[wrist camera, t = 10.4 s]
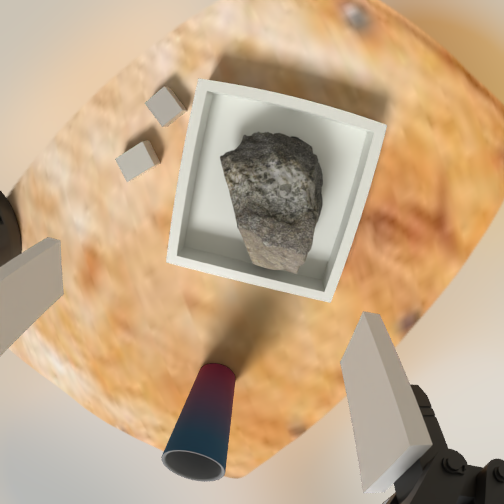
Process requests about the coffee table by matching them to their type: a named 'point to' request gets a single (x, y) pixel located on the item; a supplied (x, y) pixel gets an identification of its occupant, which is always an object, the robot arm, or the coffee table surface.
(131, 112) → the coffee table surface
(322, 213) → the bin
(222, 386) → the cup
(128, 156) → the grey small block
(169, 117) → the chip
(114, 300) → the coffee table surface
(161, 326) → the coffee table surface
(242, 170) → the rock
